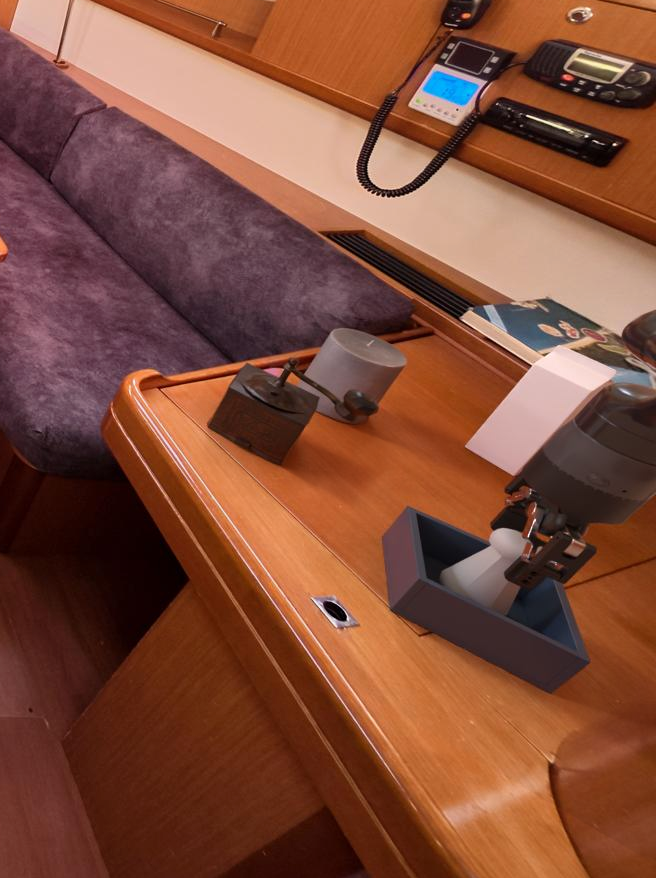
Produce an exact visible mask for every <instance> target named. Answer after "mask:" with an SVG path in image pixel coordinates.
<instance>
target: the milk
mask: <svg viewBox="0 0 656 878" xmlns="http://www.w3.org/2000/svg"><path fill="white" fill-rule="evenodd" d="M617 373H618V371H617V370H616V369H615V368H612V367H610V366H608V365H606V364H604V363H601V362H599V361H597V360H595V359H592V358H591V357H588V356H586V355H584V354H582V353H579V352H577V351H575V350H573V349H570V348H568V347H565V346H564V345H556V346H555V347H554V349H552V351H551V352H549V353H548V354H547V355H545V356H543V357H542V358H540V359H539V360H537V361H536V362H534V363H533V364H532V366H531V367H530V368H529V369H528V370H527V372H526V373H525V374H524V375H523V376H522V378H521V379H520V380H519V381H518V382H517V383H516V385H515V386H514V387H513V388H512V389H511V391H510V392H509V393H508V394H507V395H506V396H505V398H503V400H502V401H501V402H500V404H499V405H498V406H497V407H496V408H495V409H494V411H493V412H492V413H491V414H490V415H489V417H488V418H487V419H486V420H485V422H483V424H482V425H481V426H480V428H478V429H477V431H476V432H475V433H474V434H473V436H472V437H471V438H470V440H468V441H467V443H466V444H465V446H464V448H466V449H467V450H469V451H471V452H472V453H474V454H475V455H477V456H479V457H481V458H482V459H484V460H486V461H487V462H489V463H490V464H492V465H494V466H496V467H498V468H499V469H500V470H502V471H504V472H506V473H507V474H509V475H511V476H513V477H516V476H517V475H518V474H519V473H520V472H521V471H522V469H523V467H524V466H525V465H526V464H527V463H528V462H529V460H530V459H531V458H532V457H533V456H534V455H535V454H536V453H537V452H538V451H539V450H540V449H541V447H542V446H543V445H544V444H545V443H546V442H547V441H548V440H549V439H550V438H551V437H552V436H553V435H554V433H555V432H556V431H557V430H558V429H560V428H561V427H562V426H563V425H565V424H566V423H568V422H569V421H571V420H572V419H573V418H574V417H575V416H576V415H577V414H578V413H579V412H580V411H581V410H582V409H583V408H584V407H585V406H586V405H587V403H588V402H589V401H590V400H591V399H592V398H593V397H594V396H595V395H596V394H597V393H598V392H599V391H600V390H601V389H603V388H604V387H606V386H607V385H610V384H614V383H615V382H614V380H613V378H614V377H615V376H616V375H617Z"/></svg>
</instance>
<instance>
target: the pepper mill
mask: <svg viewBox="0 0 656 878" xmlns="http://www.w3.org/2000/svg"><path fill="white" fill-rule="evenodd" d="M299 364H300V361H299V359H298V358H296V357H294V356H293V357H289V358H288V359H287V362H286V363H285V362H284V364H283V368H284V369H283V371H282V372H281V373H280V375H279V377H278V376H276V375H274V374H272V373H270V372H268V371H265V370H264V369H262V368H260V367H258V366H255V365H254V364H251V363H249V362H246V363H245V364H244V365H242V367H241V368H240V369H239V370H238V372H237V373H236V375H235V376H234V377H233V378H232V380H231V382H230V383H229V385H228V387H227V389H226V391H225V392H224V395H223V396H222V398H221V400H220V402H219V404H218V405H217V407H216V408H215V411H214V412H213V413H212V414H211V416H210V418H209V419H208V420H207V423H206V424H207V428H209V429H211V430H212V431H214V432H216V433H217V434H218V435H221V436H222V437H224V438H226V439H228V440H229V441H231V442H233V443H234V444H236V445H238V446H240V447H241V448H243V449H245V450H247V451H249V452H252V453H254V454H256V455H258V456H259V457H261V458H264V460H267V461H270V462H272V463H275V464H276V465H278V466H283V465H284V463H285V462H286V460H287V459H288V458H289V456H290V454H291V452H292V450H293V449H294V446H295V445H296V443H298V440H299V439H300V437H301V435H302V433H303V432H304V431H305V429H306V427H307V426H308V425H309V424H310V422H311V420H312V418H313V416H314V414H315V413H316V412H317V411H316V409H317V406H318V401H319V399H320V397H318V396H316V395H314V394H312V393H310V392H308V391H306V390H304V389H302V388H300V387H297V385H295V384H294V383H291V382H289V381H287V380H288V379H289V377H290V375H291V374H293V375H294V376H295V377H296V378H298V379H299V380H302V381H304V382H305V383H307V384H309V385H310V386H312V387H314V388H315V389H317V390H318V391H320V392H321V393H323V394H324V395H325V396H327V397H328V398H329V399H330V400H331V401H332V402H333V403H334V405H335V406H334V408H335V410H336V412H337V413H338V414H339V415H340V416H341V417H342V418H344V419H346V420H348V421H350V422H354V421H357V418H358V416H369V417H371V416H373V415H376V414H377V413H379V409H380V408H379V403H377V402H376V401H375V400H374V399H373V398H372V397H371V396H370V395H369V394H367V393H365V392H362V391H360V390H356V389H352V390H348V392H347V393H346V394H345V395H344V397H343V399H344V402H343V403H342V402H341V401H340V400H339V399H338V398H337V397H336V396H335V395H334V394H332V393H331V392H330V391H328V390H327V389H325V388H324V387H322V386H321V385H319V384H318V383H316V382H315V381H313V380H311V379H310V378H308V377H307V376H305V375H304V374H305V373H304V374H303V373H302V372H301V371H299V370H297V366H298V365H299Z"/></svg>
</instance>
